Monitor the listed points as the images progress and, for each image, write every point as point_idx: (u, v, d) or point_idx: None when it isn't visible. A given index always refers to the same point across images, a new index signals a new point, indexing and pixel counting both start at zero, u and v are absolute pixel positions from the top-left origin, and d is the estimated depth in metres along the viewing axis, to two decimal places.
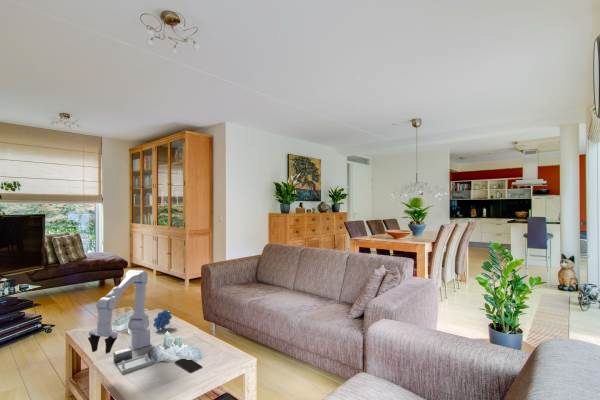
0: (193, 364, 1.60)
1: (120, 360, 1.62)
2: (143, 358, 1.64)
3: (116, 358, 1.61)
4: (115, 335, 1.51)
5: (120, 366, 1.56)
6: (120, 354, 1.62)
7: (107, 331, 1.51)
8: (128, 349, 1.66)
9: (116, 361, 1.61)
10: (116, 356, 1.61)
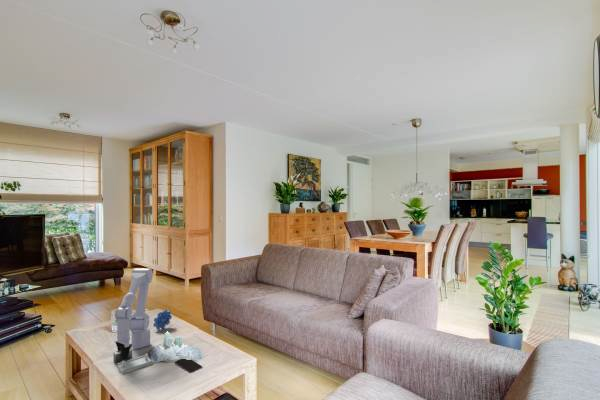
0: (193, 364, 1.60)
1: (120, 360, 1.62)
2: (143, 358, 1.64)
3: (116, 358, 1.61)
4: (126, 345, 1.59)
5: (120, 366, 1.56)
6: (120, 354, 1.62)
7: (123, 339, 1.62)
8: None
9: (116, 361, 1.61)
10: (116, 356, 1.61)
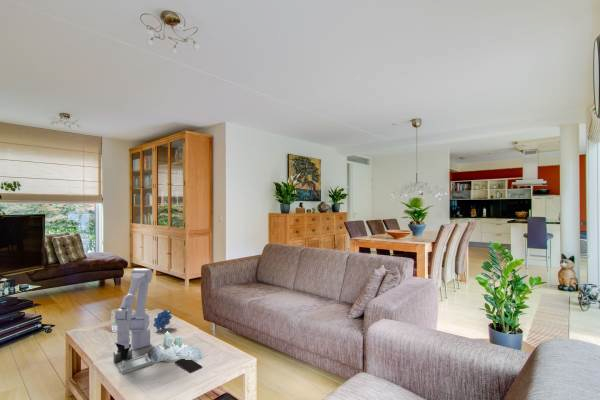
0: (193, 364, 1.60)
1: (120, 360, 1.62)
2: (143, 358, 1.64)
3: (116, 358, 1.61)
4: (126, 346, 1.59)
5: (120, 366, 1.56)
6: (120, 354, 1.62)
7: (123, 340, 1.62)
8: None
9: (116, 361, 1.61)
10: (116, 356, 1.61)
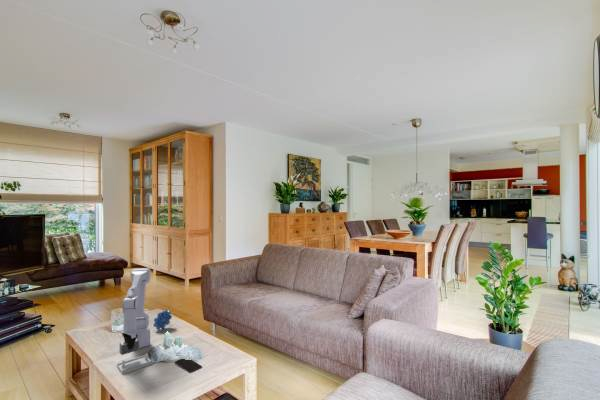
0: (193, 364, 1.60)
1: (126, 351, 1.59)
2: (143, 358, 1.64)
3: (122, 349, 1.58)
4: (133, 336, 1.56)
5: (120, 366, 1.56)
6: (126, 345, 1.59)
7: (130, 330, 1.59)
8: None
9: (122, 352, 1.58)
10: (122, 347, 1.58)
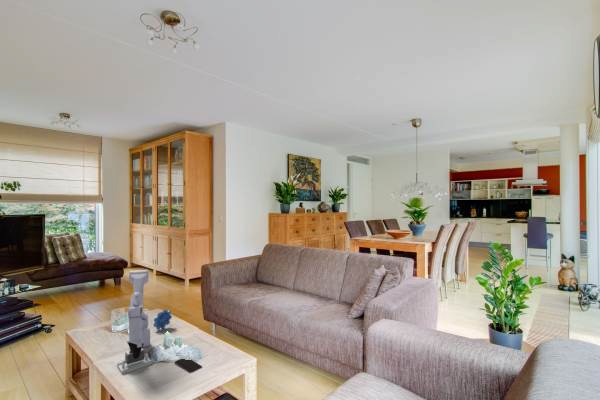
0: (193, 364, 1.60)
1: (132, 360, 1.57)
2: None
3: (128, 358, 1.55)
4: (139, 345, 1.54)
5: (120, 366, 1.56)
6: (132, 354, 1.57)
7: (135, 339, 1.57)
8: None
9: (128, 361, 1.55)
10: (128, 356, 1.55)
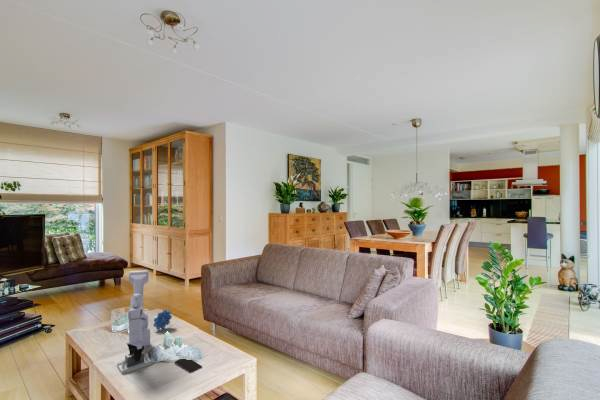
0: (193, 364, 1.60)
1: (132, 363, 1.57)
2: None
3: (128, 361, 1.55)
4: (139, 347, 1.54)
5: (120, 366, 1.56)
6: (132, 357, 1.57)
7: (135, 340, 1.57)
8: None
9: (128, 364, 1.55)
10: (128, 359, 1.55)
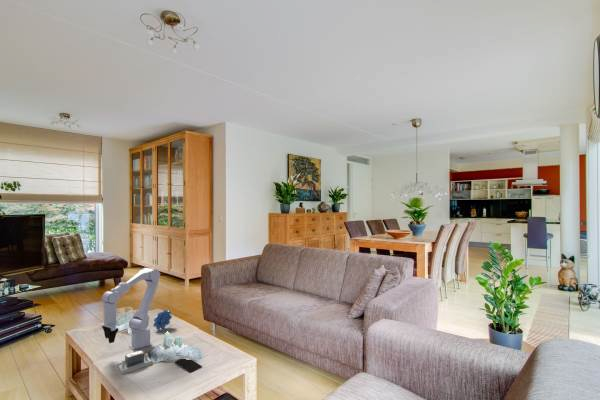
0: (193, 364, 1.60)
1: (132, 363, 1.57)
2: None
3: (128, 361, 1.55)
4: (112, 328, 1.60)
5: (120, 366, 1.56)
6: (132, 357, 1.57)
7: (110, 323, 1.63)
8: (140, 352, 1.61)
9: (128, 364, 1.55)
10: (128, 359, 1.55)
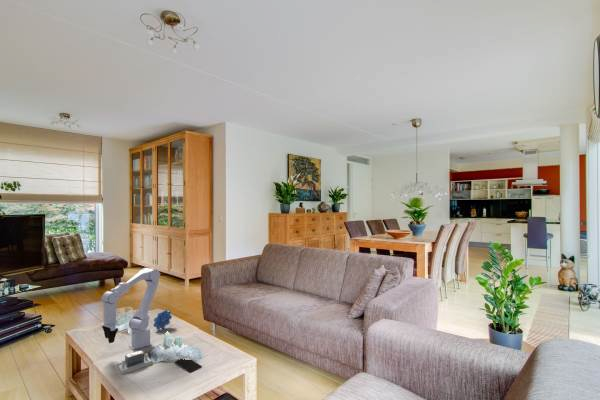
0: (193, 364, 1.60)
1: (132, 363, 1.57)
2: None
3: (128, 361, 1.55)
4: (112, 328, 1.60)
5: (120, 366, 1.56)
6: (132, 357, 1.57)
7: (110, 323, 1.63)
8: (140, 352, 1.61)
9: (128, 364, 1.55)
10: (128, 359, 1.55)
